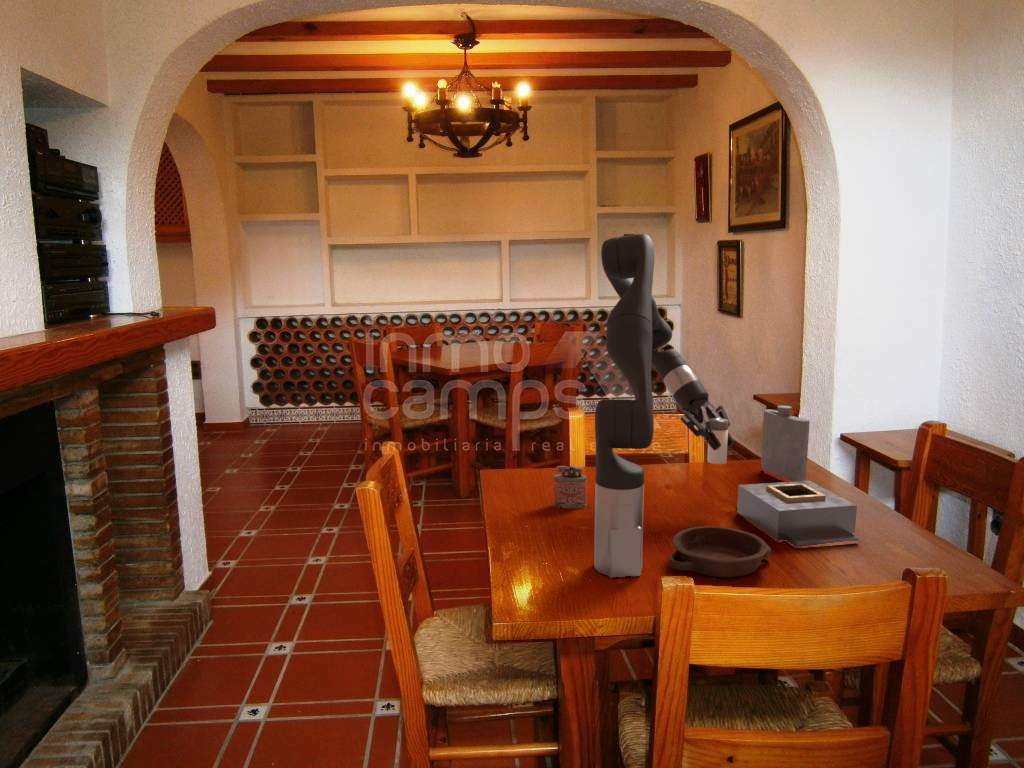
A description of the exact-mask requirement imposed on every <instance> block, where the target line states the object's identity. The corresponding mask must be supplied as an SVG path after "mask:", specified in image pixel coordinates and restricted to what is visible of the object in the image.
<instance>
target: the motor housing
mask: <svg viewBox="0 0 1024 768" xmlns="http://www.w3.org/2000/svg"><path fill="white" fill-rule="evenodd" d="M737 490H738V491H737V501H736V503H737V504H736V509H737V510H736V512H738V513H739V514H740V515H742V516H743V517H745V518H746V519H748V520H749V521H750V522H752V523H753V524H754V525H756V526H757V527H759V528H760V529H762V530H763V531H764V532H766V533H767V534H769V535H770V536H772V537H773V538H774V539H776V540H777V541H780V540H787V541H788V542H790V543H791V544H793V545H794V546H796V547H802V546H809V545H817V544H826V543H834V542H843V541H858V542H859V537H858V536H857V535H853V534H852V533H856V522H857V521H856V520H857V510H858V509H857V508H858V505H857V504H855V503H853V502H851V501H850V500H847V499H845V498H843V497H842V496H840V495H837V494H836V493H834V492H832V491H831V490H828V489H826V488H824V487H822V486H820V485H818V484H817V483H815V482H813V481H810V480H806V481H795V482H783V481H780V482H766V483H765V482H764V483H752V484H751V483H750V484H738V489H737ZM740 515H739V516H740ZM754 525H753V526H754Z"/></svg>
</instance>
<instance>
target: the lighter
mask: <svg viewBox="0 0 1024 768" xmlns="http://www.w3.org/2000/svg"><path fill="white" fill-rule="evenodd" d="M556 472H557V473H559V474H554V475H553V480H554V489H553V490H554V491H553V492H554V494H553V495H554V498H553V507H554V506H555V508H560V507H562V509H585V508H587V507H588V502H587V480H588V476H587V475H585V474H583V467H582V466H581V467H580V466H577V467H576V466H575V465H572V464H571V465H569V466H566V465H558V466H556Z"/></svg>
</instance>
